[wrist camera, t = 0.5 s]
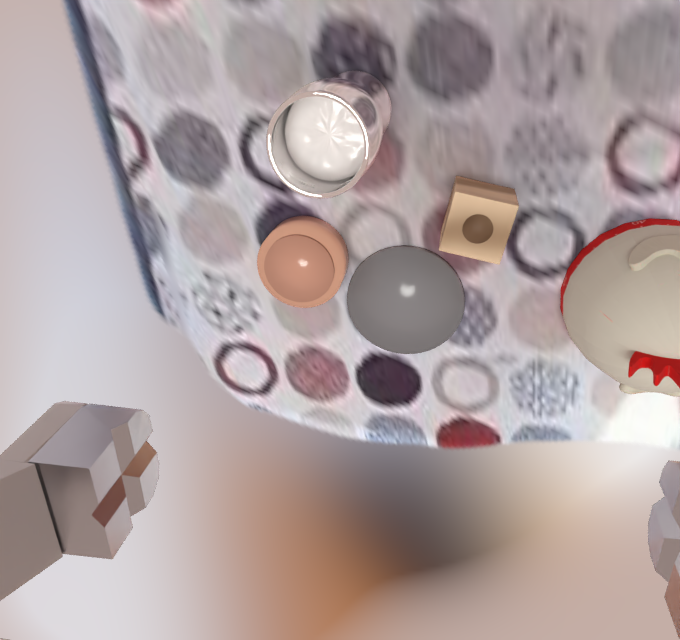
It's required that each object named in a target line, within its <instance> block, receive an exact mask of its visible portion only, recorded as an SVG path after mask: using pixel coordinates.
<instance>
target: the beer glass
mask: <svg viewBox="0 0 680 640" xmlns="http://www.w3.org/2000/svg"><path fill="white" fill-rule="evenodd" d="M390 118H391V101H390V97H389V94H388V92H387V90H386V88H385V87H384V85H383V84H382V83H381V82H380V81H379V80H378V79H377V78H376V77H374V76H373V75H371V74H369V73H366V72H363V71H356V70H353V71H346V72H343V73H341V74H339V75H337V76H335V77H334V78H325V79H320V80H317V81H314V82H312V83H309V84H307V85H305V86H303V87H302V88H300V89H299V90H298V91H296V92H295V93H294V94H293V95H291V96H290V97H289V98H288V99H287V100H286V101H285V102H284V103H283V104H281V105H280V107H279V108H278V109H277V110H276V112H275V113H274V115H273V116H272V118H271V121H270V123H269V126H268V130H267V136H266V147H267V154H268V158H269V161H270V163H271V166H272V168H273V170H274V172H275V173H276V175H277V176H278V177H279V179H280V180H281V181H282V182H283V183H284V184H285V185H286V186H287V187H289V188H290V189H292V190H293V191H295V192H297V193H299V194H301V195H303V196H306V197H310V198H318V199H323V198H331V197H335V196H338V195H340V194H342V193H344V192H346V191H347V190H349V189H350V188H352V187H353V186H354V185H355V184H356V183H357V182H358V180H359V179H360V178H361V177H362V176H363V175H364V174H365V173H366V172H367V171H368V169H369V168H370V167H371V165H372V164H373V162H374V160H375V159H376V156H377V154H378V152H379V149H380V146H381V143H382V137H383V133H384V132H385V130H386V129H387V127H388V125H389V122H390Z"/></svg>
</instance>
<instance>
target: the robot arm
mask: <svg viewBox="0 0 680 640" xmlns="http://www.w3.org/2000/svg"><path fill="white" fill-rule="evenodd" d="M152 431H153V429H152V425H151V421H150V417H149V414H147V413H146V412H145V411H143V410H138V409H130V408H121V407H113V406H105V405H97V404H96V405H95V404H85V403H76V402H66V401H63V402H59V403H55V404H54V405H53V406H52V407H51V408H50V409H49V410H47V411H46V413H44V414H43V415H42V416H41V417H40V418H39V419H38V420H37V421H36V422H35V423H34V424H33V425H32V426H31V427H30V428H29V429H27V430H26V431H25V432H24V433H23V434H22V435H21V436H20V437H19V438H18V439H17V440H16V441H15V442H14V443H13V444H12V445H10V446H9V447H8V448H7V449H6V450H5V451H4V452H3V453H2V454H1V455H0V601H1V600H2V599H3V598H5V597H6V596H8V595H9V594H11V593H12V592H13V591H15V590H16V589H18V588H19V587H20V586H22V585H23V584H25V583H26V582H27V581H29V580H30V579H32V578H33V577H35V576H36V575H37V574H39V573H40V572H42V571H43V570H45V569H46V568H47V567H49V566H50V565H52V564H53V563H54V562H56V561H57V560H59V559H60V558H61V557H62V554H69V555H79V556H88V557H97V558H106V559H113V557H114V556H115V554H116V553H117V551H118V550H119V548H120V547H121V545H122V544H123V542H124V541H125V539H126V538H127V536H128V534H129V533H130V531H131V530H132V528H133V526H132V522H131V516H132V515H134V514H136V513H137V512H139V511H141V510H142V509H144V508H146V506H147V505H148V503H149V501H150V500H151V498H152V497H153V495H154V492H155V488H156V485H157V481H158V477H159V461H158V456H157V452H156V451H155V450H154V449H153V447H152V446H151V445H150V444H149V443H148V442H147V441H146V440H147V439H148V437H149V436H150V434H151V433H152ZM659 483H660V486H661V488H662V490H663V493H664V495H665V497H664V498H662V499H661V500H659V501H658V502H657V503H655V504H654V505H653V506H652V510H651V515H650V519H649V523H648V544H649V550H650V555H651V559H652V562H653V565H654V568H655V571H656V572H657V573H659V574H660V575H661V576H662V577H663V578H664V579H665V580H666V581H668V582H669V583H668V586H667V590H666V593H665V600H666V603H667V606H668V608H669V611H670V614H671V617H672V620H673V623H674V626H675V628H676V631H677V634H678V637H679V638H680V462H678V461H668V462H667V464H666V465H665V466H664V468H663V471H662V474H661V478H660V481H659ZM0 640H8V639H2V638H0Z"/></svg>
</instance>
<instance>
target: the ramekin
mask: <svg viewBox="0 0 680 640" xmlns="http://www.w3.org/2000/svg"><path fill="white" fill-rule="evenodd" d="M348 262H349V256H348V250H347V247H346V244H345V242H344V240H343V238H342V236H341V235H340V234H339V232H338V231H337V230H336V229H335V228H334V227H333V226H331V225H330V224H329V223H327V222H325V221H323V220H321V219H319V218H315V217H311V216H296V217H291V218H289V219H286V220H284V221H283V222H281V223H280V224H279V225H277V226H276V227H275V228H274V230H273V231H272V232H271V233H270V234H269V236H268V237H267V238H266V239H265V241H264V242H263V243H262V245H261V247H260V250H259V253H258V258H257V266H258V272H259V275H260V278H261V280H262V282H263V284H264V286H265V287H266V289H267V290H268V291H269V292H270V293H271V294H272V295H273V296H274V297H276V298H277V299H278V300H280V301H282V302H283V303H286V304H288V305H291V306H294V307H301V308H309V307H315V306H318V305H321V304H323V303H325V302H327V301H328V300H330V299H331V298H332V297H333V296H334V295H335V294H336V292H337V291H338V289H339V287H340V285H341V283H342V281H343V278H344V276H345V274H346V272H347V268H348Z"/></svg>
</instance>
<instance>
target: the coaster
mask: <svg viewBox="0 0 680 640" xmlns="http://www.w3.org/2000/svg"><path fill="white" fill-rule="evenodd" d="M464 303H465V301H464V291H463V286H462V284H461V281H460V279H459V277H458V275H457V273H456V272H455V271H454V269H453V268H452V267H451V266H450V265H449V264H448V263H447V262H446V261H445V260H444V259H443V258H441V257H440V256H438V255H437V254H435V253H433V252H431V251H428V250H426V249H423V248H419V247H414V246H394V247H389V248H386V249H383V250H380V251H378V252H376V253H374V254H372V255H371V256H369V257H368V258H367V259H366V260H365V261H363V262H362V263H361V265H360V266H359V267H358V268H357V270H356V271H355V273H354V275H353V277H352V279H351V281H350V284H349V288H348V293H347V305H348V310H349V314H350V317H351V319H352V321H353V323H354V325H355V326H356V328H357V329H358V331H359V332H360V333H361V334H362V335H363V336H364V337H365V338H366V339H367V340H369V341H370V342H371V343H373V344H374V345H376V346H378V347H380V348H382V349H384V350H387V351H391V352H395V353H401V354H415V353H421V352H425V351H429V350H431V349H433V348H436V347H437V346H439V345H441V344H442V343H444V342H445V341H446V340H448V339H449V338H450V337H451V336H452V335H453V333H454V332H455V331H456V329H457V328H458V326H459V324H460V322H461V319H462V316H463V312H464Z"/></svg>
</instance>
